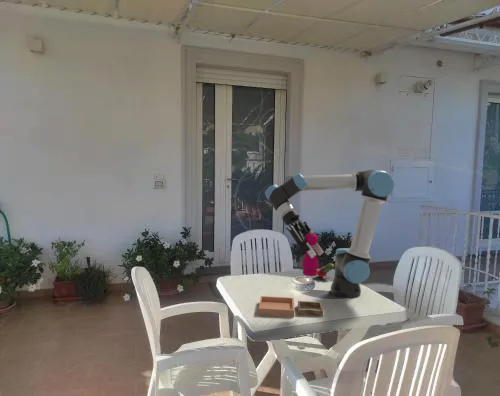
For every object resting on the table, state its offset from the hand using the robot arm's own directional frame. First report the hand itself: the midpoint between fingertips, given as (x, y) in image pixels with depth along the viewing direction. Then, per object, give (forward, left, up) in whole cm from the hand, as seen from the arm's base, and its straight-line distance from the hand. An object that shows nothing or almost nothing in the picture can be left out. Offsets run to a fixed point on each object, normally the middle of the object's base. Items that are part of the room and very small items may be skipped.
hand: (317, 255), depth 173 cm
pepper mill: (+3, -2, -10) cm, 10 cm away
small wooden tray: (+2, -2, -26) cm, 27 cm away
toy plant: (-9, -54, -27) cm, 61 cm away
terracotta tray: (+17, -2, -26) cm, 32 cm away
